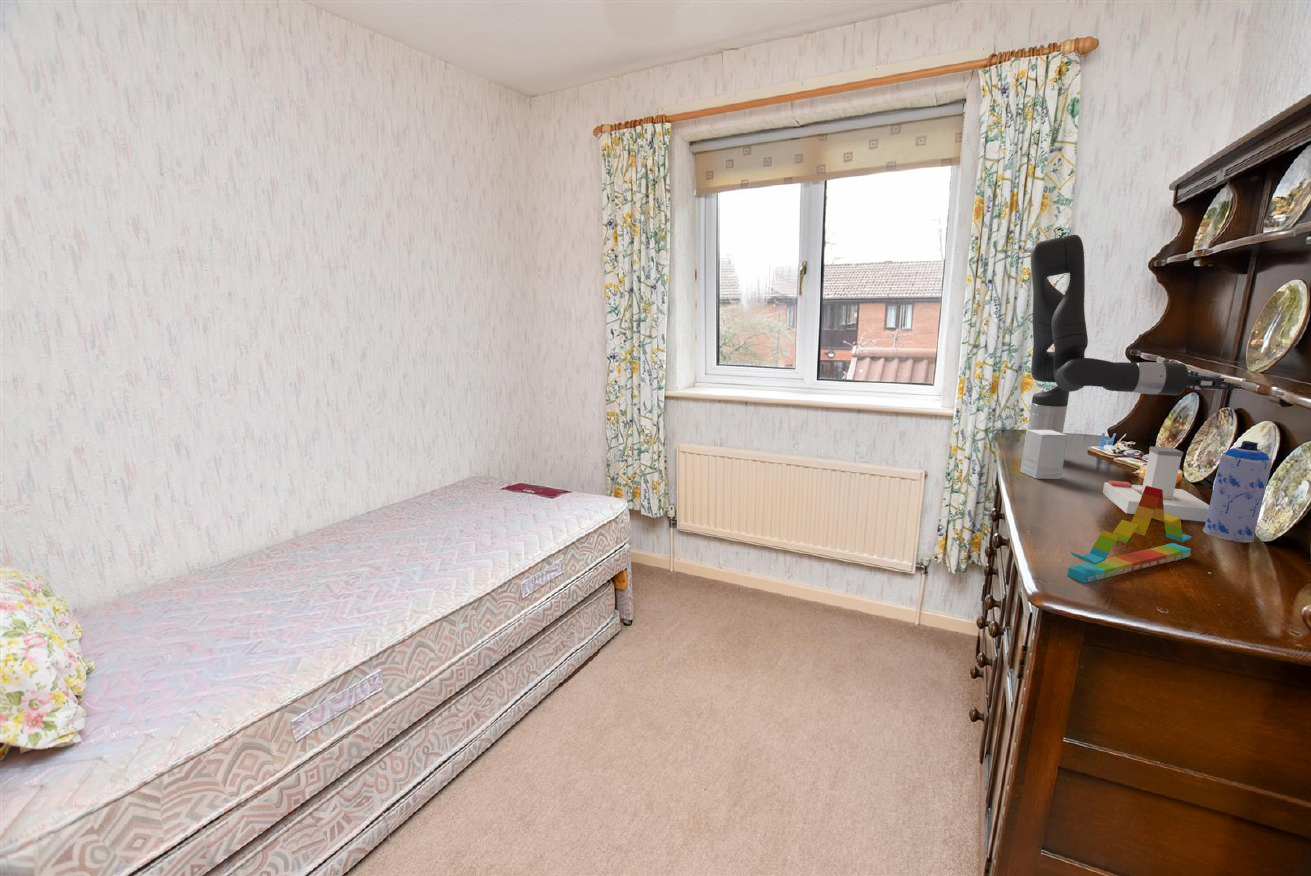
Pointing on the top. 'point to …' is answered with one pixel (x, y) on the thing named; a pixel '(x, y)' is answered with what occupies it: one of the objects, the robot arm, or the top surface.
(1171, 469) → the tall white box
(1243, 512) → the aerosol can
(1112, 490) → the socket
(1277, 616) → the top surface
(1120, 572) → the chart
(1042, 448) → the supplement box
